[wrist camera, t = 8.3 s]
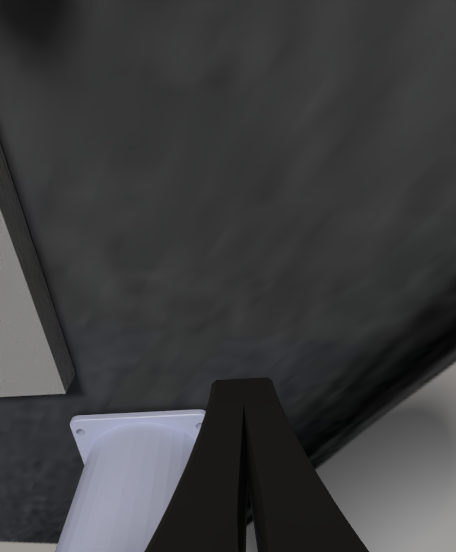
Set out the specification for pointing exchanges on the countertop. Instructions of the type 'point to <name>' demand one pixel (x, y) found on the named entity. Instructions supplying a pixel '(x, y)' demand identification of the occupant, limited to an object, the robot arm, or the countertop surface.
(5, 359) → the dial plate
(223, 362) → the countertop surface
